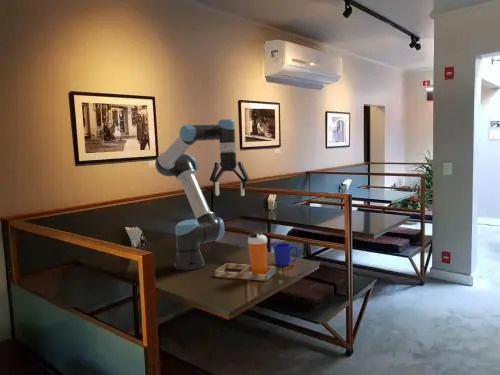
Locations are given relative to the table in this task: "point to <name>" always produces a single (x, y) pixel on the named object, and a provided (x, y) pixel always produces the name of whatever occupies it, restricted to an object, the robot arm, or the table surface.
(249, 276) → the caddy
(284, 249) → the mug
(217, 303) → the table surface
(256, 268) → the shaker bottle
